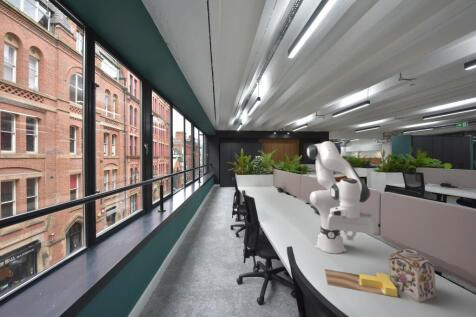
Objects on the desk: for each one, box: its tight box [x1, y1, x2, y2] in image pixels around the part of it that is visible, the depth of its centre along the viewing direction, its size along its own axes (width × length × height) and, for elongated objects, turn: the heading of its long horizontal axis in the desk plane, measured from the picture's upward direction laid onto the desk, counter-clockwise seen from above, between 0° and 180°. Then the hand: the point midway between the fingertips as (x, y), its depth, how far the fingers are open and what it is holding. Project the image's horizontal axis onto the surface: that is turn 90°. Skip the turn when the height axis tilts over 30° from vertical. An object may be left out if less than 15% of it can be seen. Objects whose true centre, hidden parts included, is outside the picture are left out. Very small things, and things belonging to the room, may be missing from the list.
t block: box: [358, 272, 398, 298], centre depth 88 cm, size 12×12×3 cm
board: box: [324, 268, 403, 300], centre depth 90 cm, size 14×28×1 cm, turn 71°
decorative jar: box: [388, 248, 436, 304], centre depth 86 cm, size 12×12×18 cm
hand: (349, 239), depth 94 cm, fingers closed
